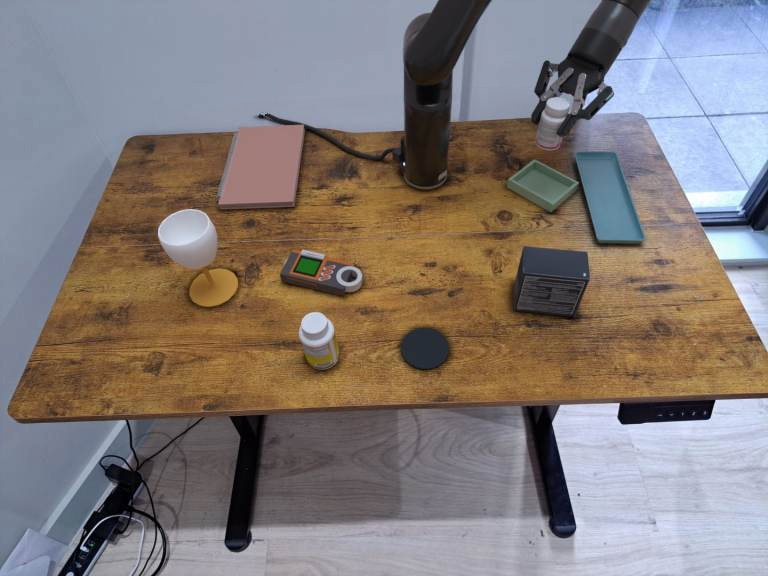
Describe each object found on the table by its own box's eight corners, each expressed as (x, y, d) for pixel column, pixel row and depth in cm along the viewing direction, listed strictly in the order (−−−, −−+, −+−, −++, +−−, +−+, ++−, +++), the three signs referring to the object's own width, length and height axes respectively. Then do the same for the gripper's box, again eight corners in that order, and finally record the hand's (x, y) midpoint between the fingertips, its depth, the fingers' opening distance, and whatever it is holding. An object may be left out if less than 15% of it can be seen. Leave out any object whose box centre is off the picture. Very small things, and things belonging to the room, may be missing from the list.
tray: (506, 187, 109) (508, 179, 107) (532, 167, 112) (534, 159, 111) (550, 212, 104) (553, 204, 102) (576, 190, 107) (579, 182, 106)
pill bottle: (561, 152, 94) (572, 112, 87) (534, 150, 95) (544, 109, 88) (560, 136, 97) (572, 96, 90) (535, 134, 97) (544, 94, 91)
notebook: (236, 133, 125) (234, 126, 123) (305, 130, 124) (303, 123, 123) (215, 210, 108) (212, 203, 106) (294, 207, 108) (292, 200, 106)
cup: (185, 278, 97) (151, 217, 84) (232, 263, 99) (206, 201, 86) (194, 314, 91) (159, 254, 79) (243, 296, 93) (217, 236, 81)
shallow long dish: (643, 247, 97) (648, 238, 95) (594, 247, 97) (598, 238, 95) (613, 160, 113) (616, 151, 111) (571, 160, 113) (573, 150, 111)
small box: (573, 289, 91) (589, 249, 83) (575, 318, 87) (592, 280, 79) (513, 282, 93) (523, 243, 85) (512, 311, 89) (523, 273, 81)
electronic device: (355, 291, 90) (277, 272, 93) (356, 300, 92) (280, 282, 95) (367, 263, 94) (291, 245, 96) (367, 273, 96) (293, 255, 99)
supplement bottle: (323, 336, 87) (314, 301, 79) (346, 354, 85) (340, 319, 77) (299, 358, 85) (288, 324, 77) (323, 377, 82) (314, 344, 74)
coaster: (391, 349, 85) (391, 347, 85) (423, 320, 89) (424, 319, 88) (426, 379, 82) (426, 377, 81) (458, 348, 85) (459, 347, 84)
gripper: (561, 14, 87) (507, 107, 92) (639, 42, 81) (576, 140, 85) (571, 34, 93) (520, 120, 98) (644, 61, 87) (585, 151, 91)
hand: (546, 129), depth 92 cm, fingers closed on pill bottle, 4 cm apart
